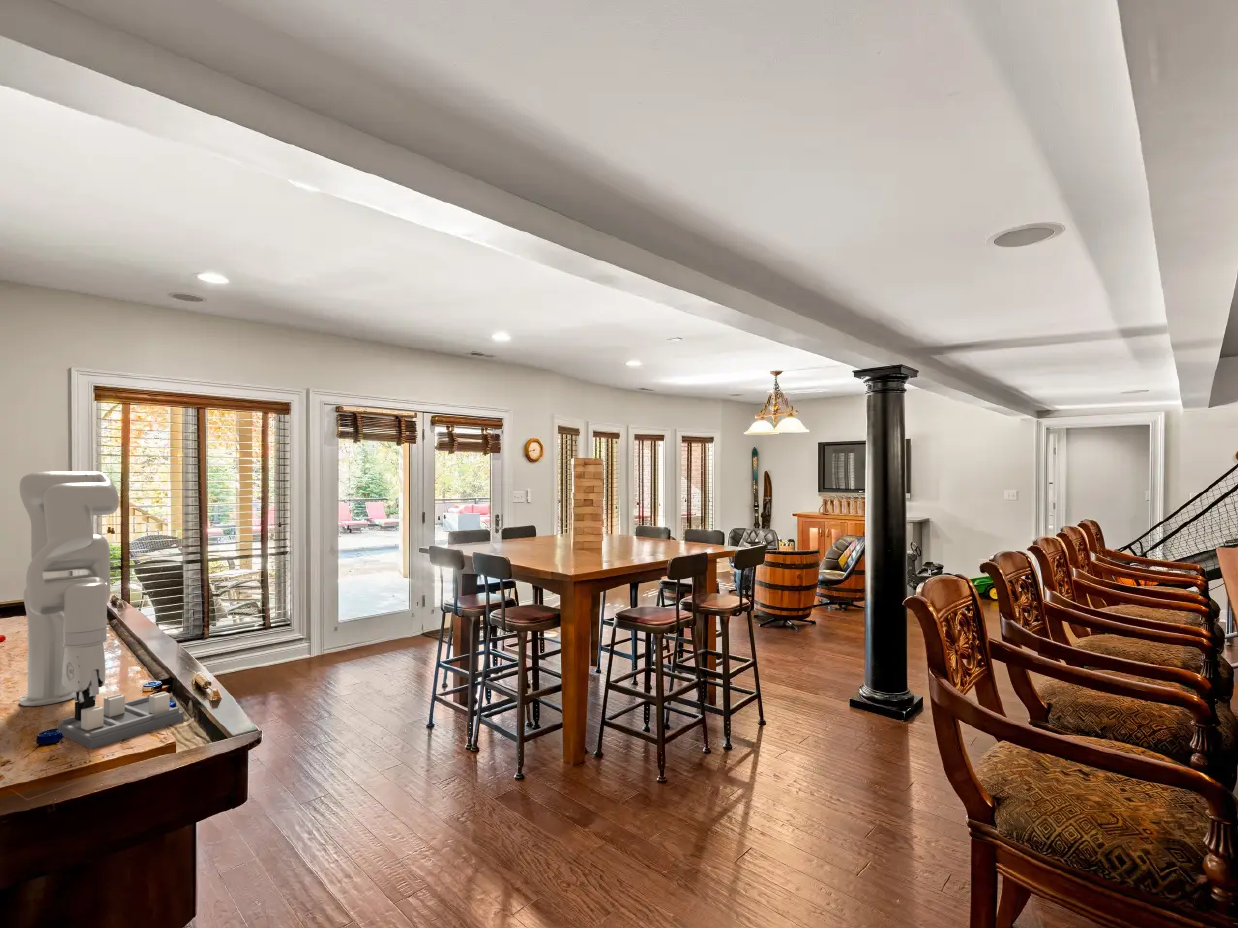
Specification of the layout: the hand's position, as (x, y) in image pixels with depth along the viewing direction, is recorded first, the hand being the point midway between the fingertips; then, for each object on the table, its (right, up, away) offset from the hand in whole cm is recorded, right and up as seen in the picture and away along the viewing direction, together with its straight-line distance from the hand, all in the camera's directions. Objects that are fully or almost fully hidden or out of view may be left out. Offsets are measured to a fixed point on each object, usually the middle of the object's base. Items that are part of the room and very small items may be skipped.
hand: (84, 717), depth 143 cm
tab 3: (+12, -1, +7) cm, 14 cm away
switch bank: (+5, -4, +4) cm, 7 cm away
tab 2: (+2, -1, +6) cm, 6 cm away
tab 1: (+3, -1, -2) cm, 4 cm away
